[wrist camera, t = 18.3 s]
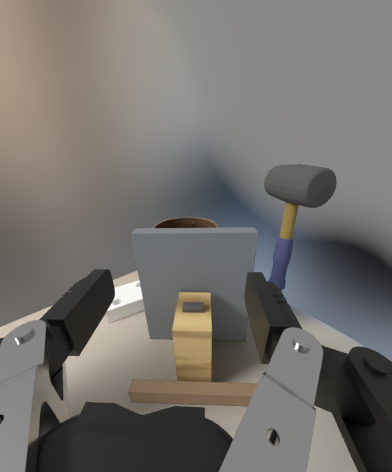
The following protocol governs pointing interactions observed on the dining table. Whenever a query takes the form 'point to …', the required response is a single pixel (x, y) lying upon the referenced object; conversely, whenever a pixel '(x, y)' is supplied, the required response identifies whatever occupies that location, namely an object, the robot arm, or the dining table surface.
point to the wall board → (194, 280)
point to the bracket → (126, 301)
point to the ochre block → (193, 337)
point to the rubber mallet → (295, 205)
